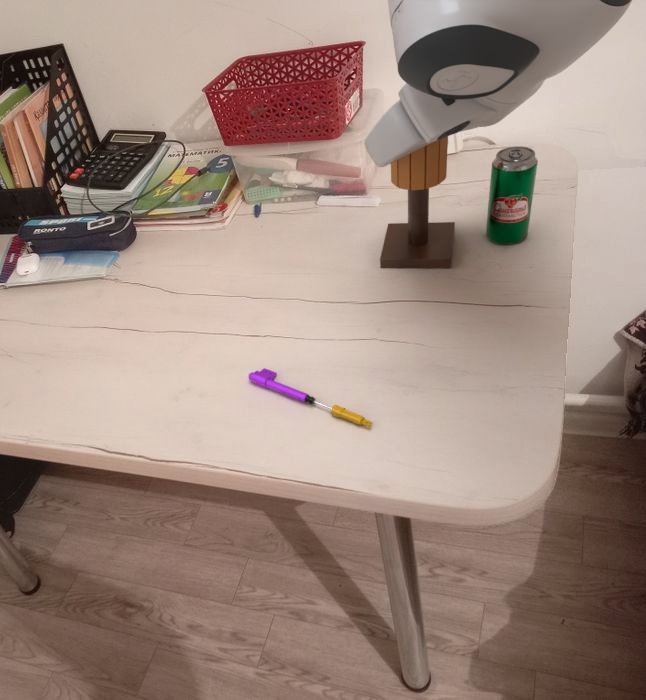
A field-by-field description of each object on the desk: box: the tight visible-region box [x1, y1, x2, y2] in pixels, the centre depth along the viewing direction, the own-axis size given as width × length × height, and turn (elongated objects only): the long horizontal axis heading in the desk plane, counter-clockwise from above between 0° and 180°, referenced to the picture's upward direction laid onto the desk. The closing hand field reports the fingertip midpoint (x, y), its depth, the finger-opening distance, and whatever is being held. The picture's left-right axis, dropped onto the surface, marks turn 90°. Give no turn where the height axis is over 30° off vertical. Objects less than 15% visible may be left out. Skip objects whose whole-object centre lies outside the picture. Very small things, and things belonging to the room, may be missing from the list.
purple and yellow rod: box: [247, 367, 373, 428], centre depth 71 cm, size 3×1×16 cm
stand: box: [379, 188, 456, 269], centre depth 83 cm, size 9×9×12 cm
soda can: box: [485, 145, 539, 245], centre depth 80 cm, size 5×5×12 cm
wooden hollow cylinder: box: [390, 136, 449, 191], centre depth 78 cm, size 7×7×7 cm
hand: (415, 144), depth 78 cm, fingers closed on wooden hollow cylinder, 7 cm apart
